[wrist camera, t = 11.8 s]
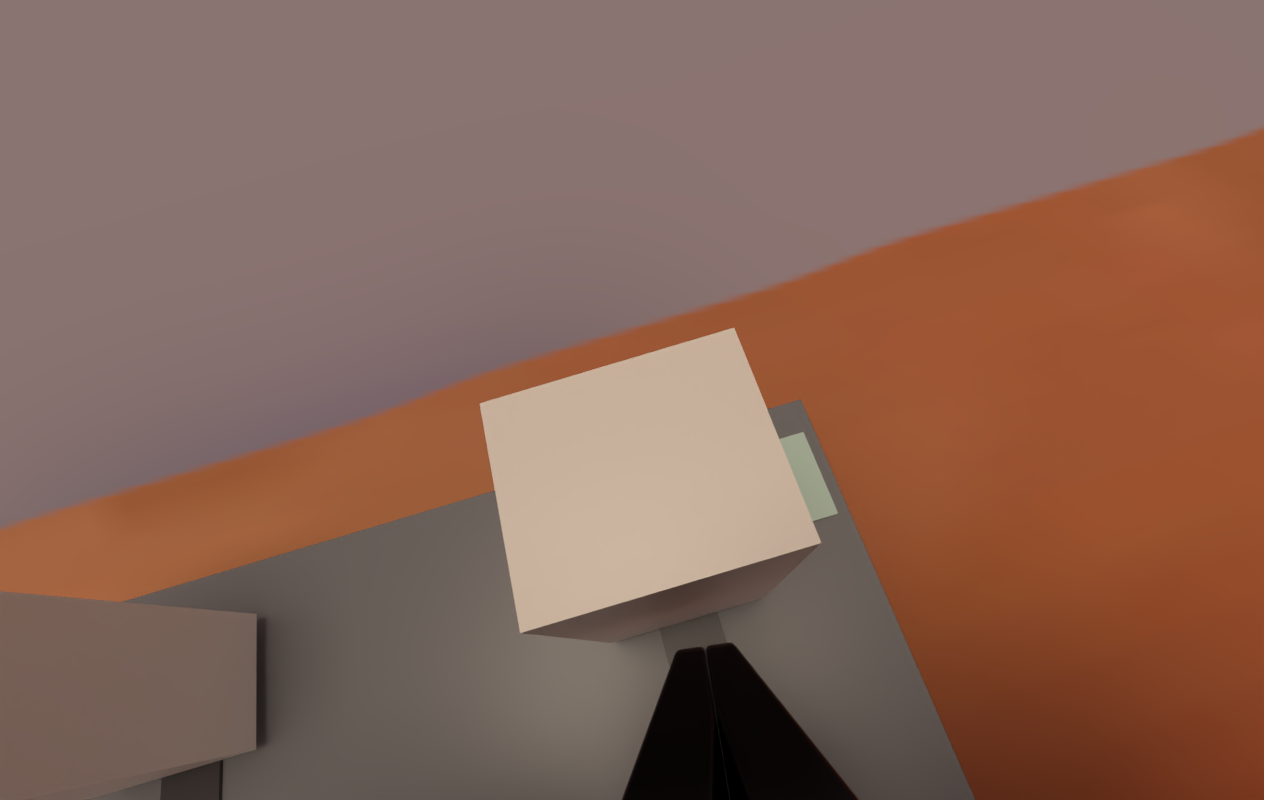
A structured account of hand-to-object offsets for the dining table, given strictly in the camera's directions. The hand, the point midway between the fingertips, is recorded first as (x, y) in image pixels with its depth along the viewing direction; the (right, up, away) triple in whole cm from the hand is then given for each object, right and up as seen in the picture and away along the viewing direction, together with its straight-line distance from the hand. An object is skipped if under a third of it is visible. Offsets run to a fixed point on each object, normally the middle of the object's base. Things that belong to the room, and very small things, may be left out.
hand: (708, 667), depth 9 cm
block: (0, 0, +5) cm, 5 cm away
